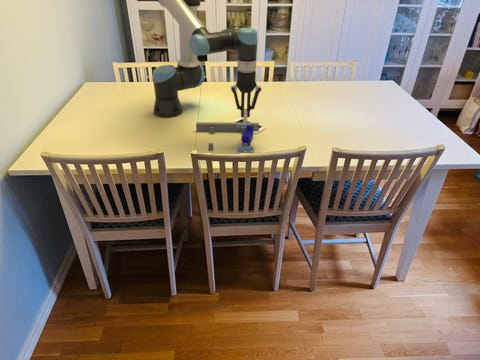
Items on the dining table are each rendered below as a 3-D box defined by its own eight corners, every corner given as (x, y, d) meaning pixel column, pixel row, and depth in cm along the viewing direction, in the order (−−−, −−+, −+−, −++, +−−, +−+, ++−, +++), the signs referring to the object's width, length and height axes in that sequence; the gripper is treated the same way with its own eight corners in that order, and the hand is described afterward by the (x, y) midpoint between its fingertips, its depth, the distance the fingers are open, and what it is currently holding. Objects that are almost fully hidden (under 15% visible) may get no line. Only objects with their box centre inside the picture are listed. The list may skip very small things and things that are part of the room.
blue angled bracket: (243, 135, 159) (244, 124, 156) (253, 136, 158) (253, 125, 155) (238, 147, 149) (239, 135, 146) (248, 149, 149) (249, 136, 145)
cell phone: (238, 119, 175) (238, 117, 175) (266, 129, 166) (266, 127, 166) (227, 124, 169) (227, 122, 169) (255, 135, 160) (255, 133, 160)
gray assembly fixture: (193, 152, 145) (192, 144, 143) (196, 129, 163) (196, 122, 160) (262, 152, 146) (263, 144, 144) (258, 130, 164) (258, 122, 162)
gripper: (230, 72, 133) (230, 127, 146) (263, 73, 133) (260, 127, 146) (230, 67, 139) (230, 120, 152) (261, 67, 139) (258, 120, 153)
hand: (245, 123), depth 149 cm, fingers closed
